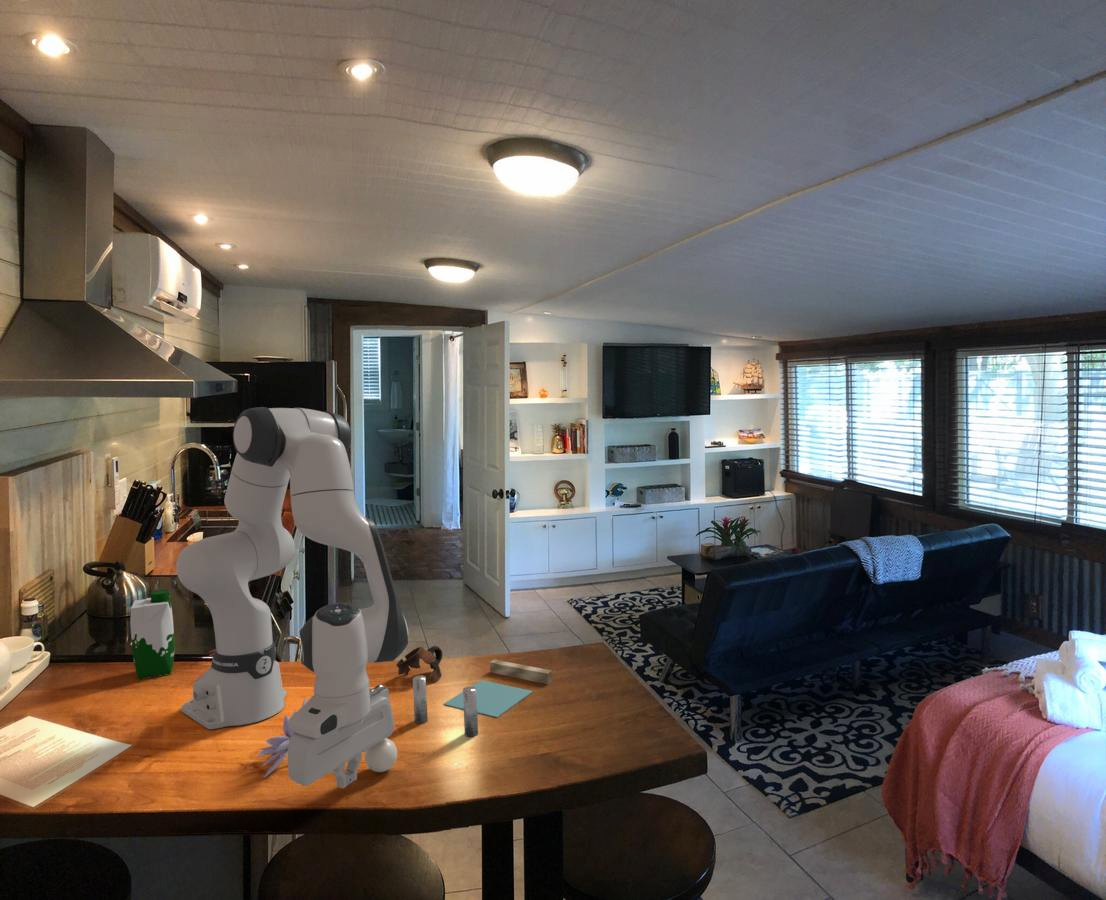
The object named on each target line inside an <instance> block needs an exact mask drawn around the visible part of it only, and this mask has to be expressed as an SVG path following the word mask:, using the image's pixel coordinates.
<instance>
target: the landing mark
mask: <svg viewBox="0 0 1106 900" xmlns="http://www.w3.org/2000/svg"><path fill="white" fill-rule="evenodd" d="M470 687H475V688H476V692H477V714H480V715H485V716H488V717H491V718H492V717H493V718H496V719H497V718H499V717H501V716H502V715H503V714H504V713H506V712H508V711H509V710H510V709H511V708H513V707H515V706H517V704H519V703H521V701H523V700H524V699H525V698H527V697H528V696H530V695H531V694H532V693H533V692H534V691H533V690H530V689H525V688H521V687H516V686H512V685H511V686H510V685H506V684H502V683H496V682H492V681H488V680H483V679H481V680H479V681H478V682H476V683H474V684H473V685H471V686H470ZM443 705H444V706H447V707H450V708H451V707H452V708H456V709H460V710H463V711H464V704H463V691H461V692H460V693H459V694H457V695H455V696H453V697H452V698H450V699H449V700H447V701H446V702H444V703H443Z"/></svg>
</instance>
